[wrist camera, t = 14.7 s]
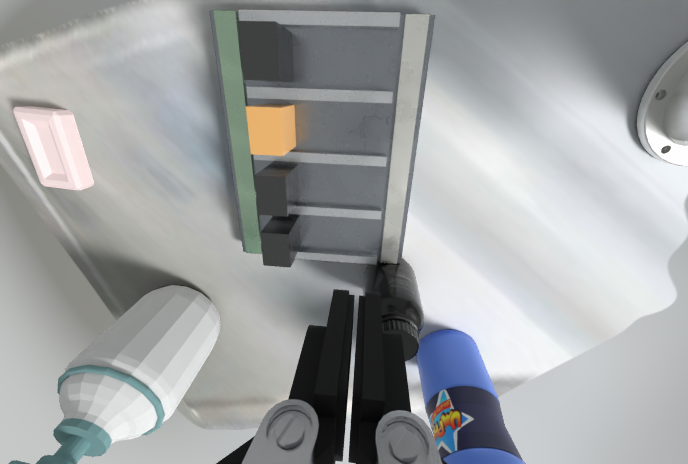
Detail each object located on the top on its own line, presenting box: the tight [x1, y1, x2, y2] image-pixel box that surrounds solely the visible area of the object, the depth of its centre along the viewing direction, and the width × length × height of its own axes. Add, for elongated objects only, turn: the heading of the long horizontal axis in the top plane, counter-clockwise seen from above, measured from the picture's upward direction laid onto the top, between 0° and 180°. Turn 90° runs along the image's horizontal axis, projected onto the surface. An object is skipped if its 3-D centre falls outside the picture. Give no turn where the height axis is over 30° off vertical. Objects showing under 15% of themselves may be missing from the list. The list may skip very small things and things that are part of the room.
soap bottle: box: [9, 285, 220, 464], centre depth 31 cm, size 12×12×31 cm
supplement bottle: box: [363, 259, 424, 361], centre depth 34 cm, size 7×7×12 cm
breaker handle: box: [246, 104, 296, 156], centre depth 28 cm, size 3×4×5 cm
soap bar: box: [13, 106, 94, 190], centre depth 35 cm, size 5×9×2 cm, turn 175°
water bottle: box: [416, 330, 525, 464], centre depth 33 cm, size 9×9×25 cm
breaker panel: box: [210, 9, 435, 267], centre depth 30 cm, size 20×25×7 cm
